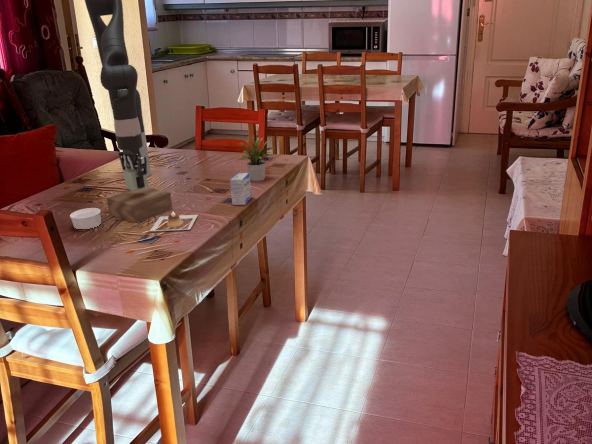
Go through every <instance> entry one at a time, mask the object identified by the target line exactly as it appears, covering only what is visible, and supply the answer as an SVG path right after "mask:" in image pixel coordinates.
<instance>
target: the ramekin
mask: <svg viewBox="0 0 592 444" xmlns="http://www.w3.org/2000/svg"><path fill="white" fill-rule="evenodd" d="M101 212H102V211H101V209H100V208H96V207H87V208H81V209H78V210H75V211H73V212H72V213H70V215H69V217H70V220H71V222H72V225H73V228H74V229H75V228H76V229H90V228H93V229H95V228H94V227H96V228H98V227H100V226H101V225H100V224H102V217H101ZM99 225H100V226H99ZM97 226H98V227H97ZM76 229H75V230H76ZM90 230H91V229H90Z"/></svg>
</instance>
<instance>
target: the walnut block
mask: <svg viewBox="0 0 592 444" xmlns="http://www.w3.org/2000/svg"><path fill="white" fill-rule="evenodd" d="M171 196H172V195H171V192H169V191H166V190H161V189H157V188H151V187H148V188H144V189H141V190H137V191H132V190H127V191H124V192H121V193H118V194H115V195H112V196H110V197H106V201H107V208H108V213H109V216H111V215H112V217H115V218H119V219H122V220H125V221H129V222H133V223H137V224H139V223H140V222H143V221H145V220H148V219H150V218H153V217H155V216H159V215H160V214H164V213H166V212H168V211H172V210H173V203H172V197H171Z"/></svg>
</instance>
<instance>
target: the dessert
mask: <svg viewBox="0 0 592 444" xmlns="http://www.w3.org/2000/svg"><path fill="white" fill-rule="evenodd" d="M169 211H170V213H169V215H167V216H166V215H163V216H159V217H158V218H157V220H156V221H155V223H154V224H153V225H152V226H151V228H150V230H149V232H152V233H153V232H154V233H155V232H176V231H179V232H180V231H190V230H191V229H192V227H193V225H194V223H195V221H196V219H197V218H198V216H199V214H188V215H187V214H183V215H181V214H180V215H179V214H178V213H177V214H176V213H175V211H172V210H169ZM171 211H172V212H171ZM183 219H192V220H191V222H190V223H189V224H188V227H187V228H180V229H179V228H177V229H176V227H180V226H182V225H183V222H182V220H183ZM163 220H167V223H166V226H167V227H168V228H175V229H158V227H159V226H160V224H161V223H162V222H163Z"/></svg>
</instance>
